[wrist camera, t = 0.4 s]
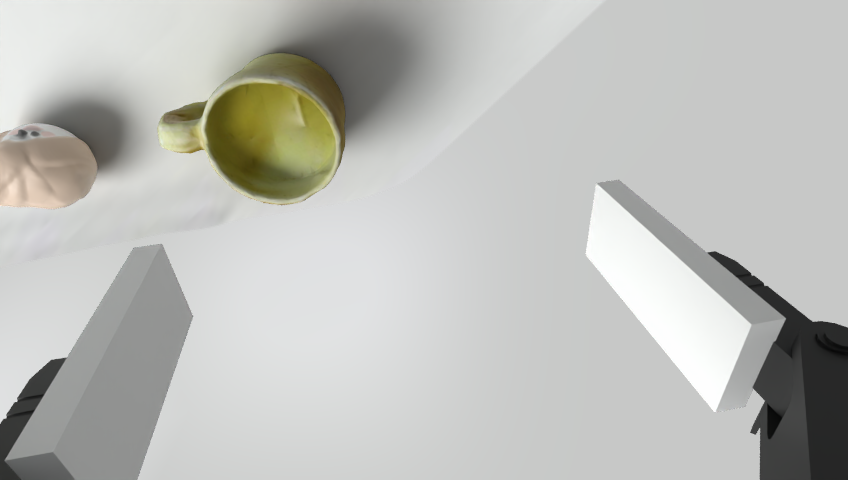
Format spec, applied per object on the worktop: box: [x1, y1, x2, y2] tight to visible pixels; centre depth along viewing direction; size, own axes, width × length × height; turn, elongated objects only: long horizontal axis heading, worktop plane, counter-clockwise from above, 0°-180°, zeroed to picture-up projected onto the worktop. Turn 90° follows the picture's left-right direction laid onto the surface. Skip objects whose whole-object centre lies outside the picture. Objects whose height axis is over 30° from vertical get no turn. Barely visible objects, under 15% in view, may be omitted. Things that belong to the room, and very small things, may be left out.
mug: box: [157, 53, 345, 205], centre depth 35 cm, size 12×10×10 cm
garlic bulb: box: [0, 123, 97, 209], centre depth 34 cm, size 7×6×8 cm
